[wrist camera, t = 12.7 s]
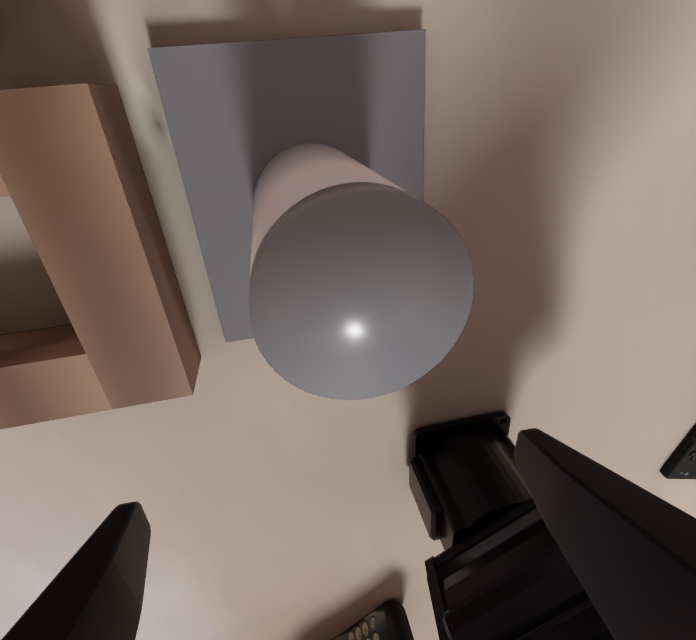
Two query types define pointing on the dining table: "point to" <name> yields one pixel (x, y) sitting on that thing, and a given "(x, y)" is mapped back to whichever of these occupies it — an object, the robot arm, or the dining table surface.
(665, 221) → the dining table surface
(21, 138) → the socket block
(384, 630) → the mobile phone
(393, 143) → the mat
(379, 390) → the cylinder
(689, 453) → the handheld gaming console
